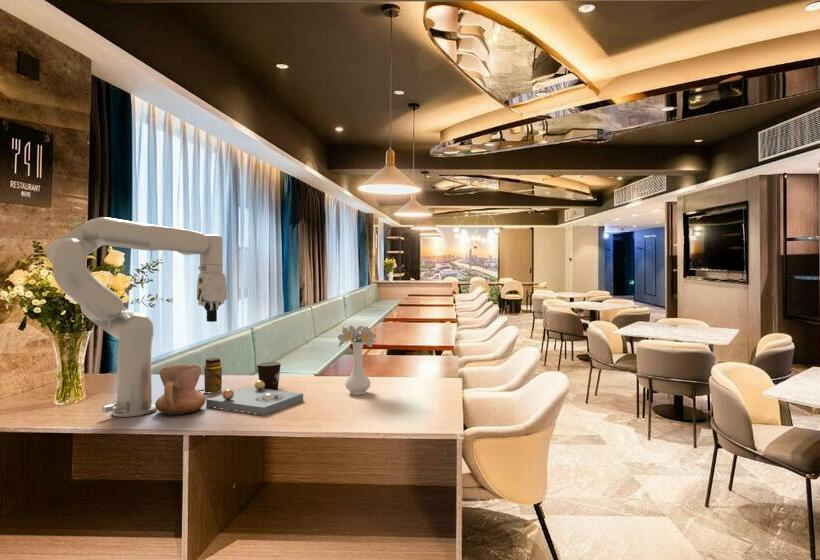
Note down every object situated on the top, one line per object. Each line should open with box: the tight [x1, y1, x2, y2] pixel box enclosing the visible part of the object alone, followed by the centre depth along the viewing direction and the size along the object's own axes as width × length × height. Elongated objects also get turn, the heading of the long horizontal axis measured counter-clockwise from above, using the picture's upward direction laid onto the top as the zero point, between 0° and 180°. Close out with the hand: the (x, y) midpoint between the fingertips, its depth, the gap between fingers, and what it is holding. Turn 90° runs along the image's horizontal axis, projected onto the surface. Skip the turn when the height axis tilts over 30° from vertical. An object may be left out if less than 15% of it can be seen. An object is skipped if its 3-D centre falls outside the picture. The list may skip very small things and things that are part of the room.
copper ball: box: [222, 388, 234, 400], centre depth 166 cm, size 4×4×4 cm
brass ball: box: [254, 379, 265, 390], centre depth 179 cm, size 4×4×4 cm
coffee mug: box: [256, 361, 282, 391], centre depth 191 cm, size 12×9×10 cm
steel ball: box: [263, 394, 275, 400], centre depth 168 cm, size 4×4×4 cm
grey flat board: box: [206, 386, 304, 416], centre depth 170 cm, size 24×20×2 cm
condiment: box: [196, 357, 223, 393], centre depth 188 cm, size 7×8×12 cm
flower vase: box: [337, 325, 377, 396], centre depth 186 cm, size 13×18×25 cm
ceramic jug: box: [154, 363, 206, 415], centre depth 160 cm, size 18×14×14 cm
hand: (211, 321), depth 178 cm, fingers closed
